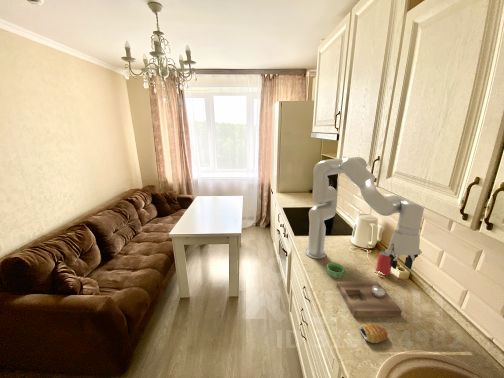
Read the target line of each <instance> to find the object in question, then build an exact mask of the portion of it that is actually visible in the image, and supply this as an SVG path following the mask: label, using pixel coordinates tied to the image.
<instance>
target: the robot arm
mask: <svg viewBox="0 0 504 378" xmlns="http://www.w3.org/2000/svg"><path fill="white" fill-rule="evenodd" d="M366 163H367V161H366V159H365V158H363V157H360V156H354V157H345V158H331V159H325V160H321V161H318V162H317V163H316V164H315V166H314V168H313V170H312V171H313V172H312V173H313V174H312V175H313V176H312V177H313V184H312V201H313V203H315V204H316V205H314V206H313V207H311V208H310V209H309V211H308V220H309V226H308V227H309V229H308V230H309V232H308V244H307V247H306V248H305V252H304V253H305V255H307V256H308V257H309V258H312V259H316V260H320V259H324V258H326V256H327V252H326V251H325V243H326V242H325V241H326V230H327V228H326V224H325V221H326V220H327V221H328V220H330V219H331V218H332V219H333V217H335V215H336V214H337V213H336V212H337V207H338V191H337V189H336V188H334V187H333V186H330V180H329V177H328V176H332V175H340V174H344V175H345V176H346V177H347V178H348V179H349V180H350V181H351V182H352V183H354V184H355V185H356V186H357V188H359V190H360V193H361V196H362V198H363V200H364V202H365V203H366V204H367V205H368V206H369V207H370V208H371V209H372V210H373V211H375V212H376V213H377V214H379V215H380V216H383V217H388V216H392V215H393V214H398V215H399V216H398V220H397V227H396V229H395V230H394V231H393V233H392V235H391V238H390V241H389V243H388V244H389V245H388V248H386V249H385V250H384V251H385V252H386V253H387V254H388V255H389V256H390V258H391V261H390V266H391V268H393V270H396V269H397V265H398V258H399V257H400V256H406V257H405V261H404V266H405V267H406V268H408V270H411V269H412V267H413V262H414V261H415V260H416V259H417V258H418V257H419V256H420V255H421V254H422V253H423V251H422V250H421V249H420V243H421V241H420V240H421V235H420V231H421V230H422V227H421V224H422V219H423V214H424V209H425V207H424V208H423V207H421V206H419V205H417V204H415V203H413V202H410V201H408V200H409V199H408V200H406V199H407V198H405V197H403V198H402V196H400V197H399V195H397V194H396V195H395V194H394V195H389V196H384V195H383V194H382V193H381V192H380V191H379V190H378V189H377V187H376V186H375V181H376V176H375V175H374V174H373V173H372V172H371V171H370V170H368V169H367V168H368V163H367V164H366ZM366 167H367V168H366ZM404 198H405V199H404Z"/></svg>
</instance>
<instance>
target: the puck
mask: <svg viewBox="0 0 504 378" xmlns="http://www.w3.org/2000/svg"><path fill="white" fill-rule="evenodd" d="M380 286H381V285H380ZM380 286H377V285H374V286H372V291H371V294H372V295H373V296H374V297H376V298H378V299H383V298H384V293H385V291H386V290H385V289H384V287H382V286H381V287H380Z"/></svg>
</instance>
